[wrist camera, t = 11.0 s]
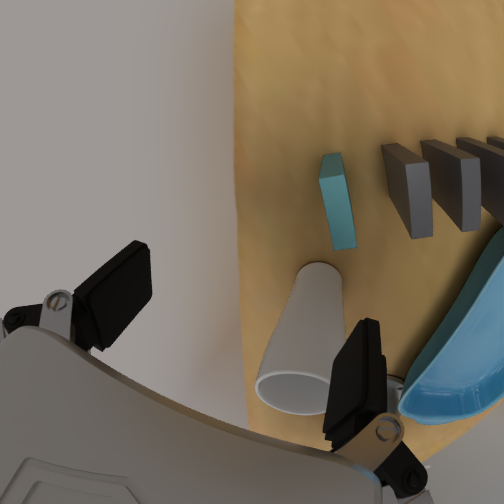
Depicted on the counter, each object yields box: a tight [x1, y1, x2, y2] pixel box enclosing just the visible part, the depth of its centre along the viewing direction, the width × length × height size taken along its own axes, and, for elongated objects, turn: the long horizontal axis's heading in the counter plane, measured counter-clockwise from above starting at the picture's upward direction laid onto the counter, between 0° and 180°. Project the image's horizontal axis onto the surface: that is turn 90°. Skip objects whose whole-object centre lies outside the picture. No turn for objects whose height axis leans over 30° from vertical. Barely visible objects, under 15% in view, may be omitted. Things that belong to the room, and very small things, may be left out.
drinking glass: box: [255, 262, 346, 415], centre depth 24 cm, size 7×7×15 cm
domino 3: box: [456, 138, 504, 226], centre depth 15 cm, size 2×5×9 cm, turn 18°
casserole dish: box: [398, 226, 504, 425], centre depth 22 cm, size 37×22×7 cm, turn 173°
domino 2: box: [421, 140, 481, 232], centre depth 16 cm, size 2×5×9 cm, turn 18°
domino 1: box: [381, 143, 433, 239], centre depth 18 cm, size 2×5×9 cm, turn 18°
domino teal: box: [319, 153, 357, 251], centre depth 20 cm, size 2×5×9 cm, turn 18°
